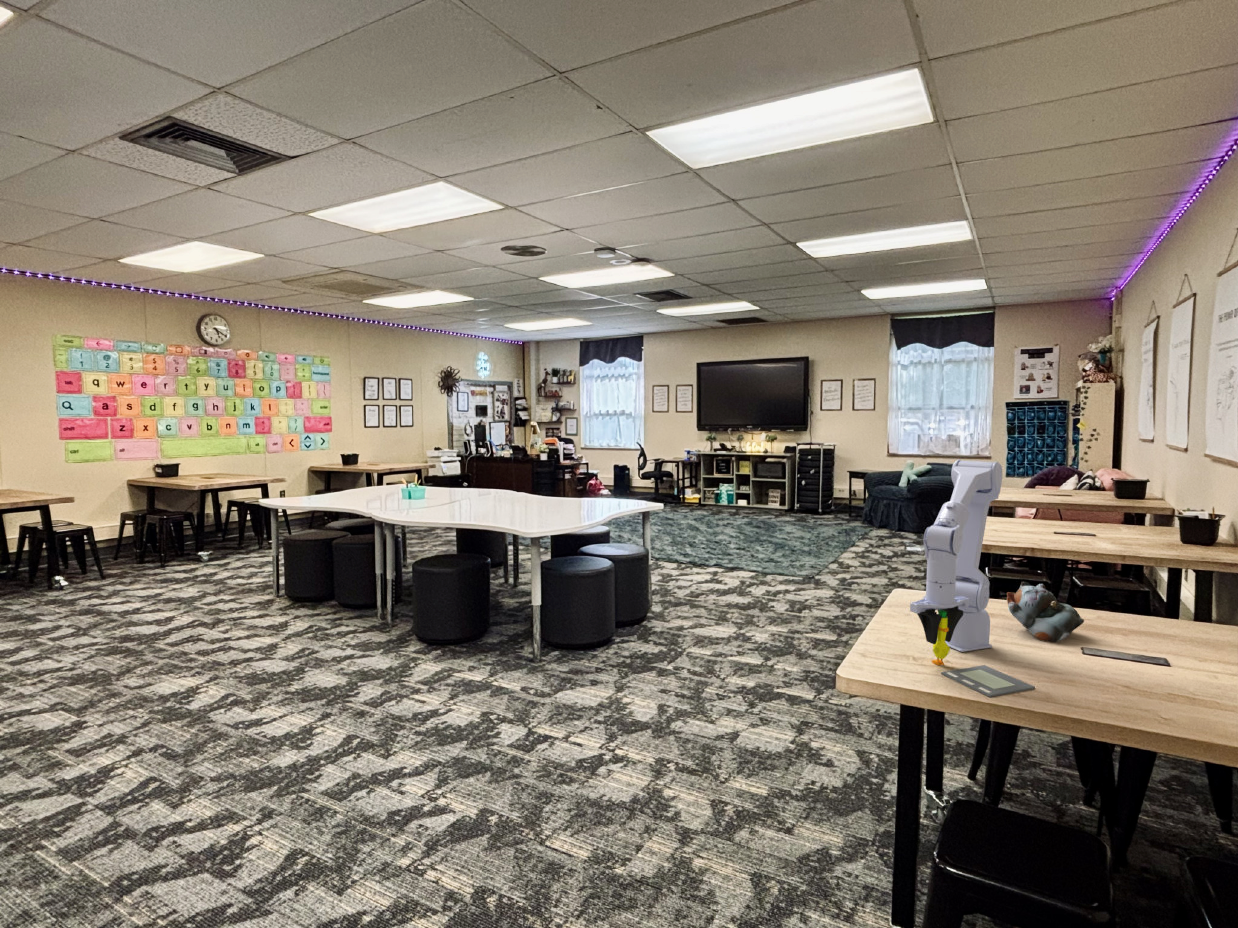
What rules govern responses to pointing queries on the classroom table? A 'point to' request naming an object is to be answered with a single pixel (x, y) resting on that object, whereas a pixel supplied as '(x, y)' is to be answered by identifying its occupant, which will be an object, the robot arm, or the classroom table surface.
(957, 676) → the display panel
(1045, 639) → the lucky cat figurine
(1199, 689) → the classroom table surface
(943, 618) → the toy figure
